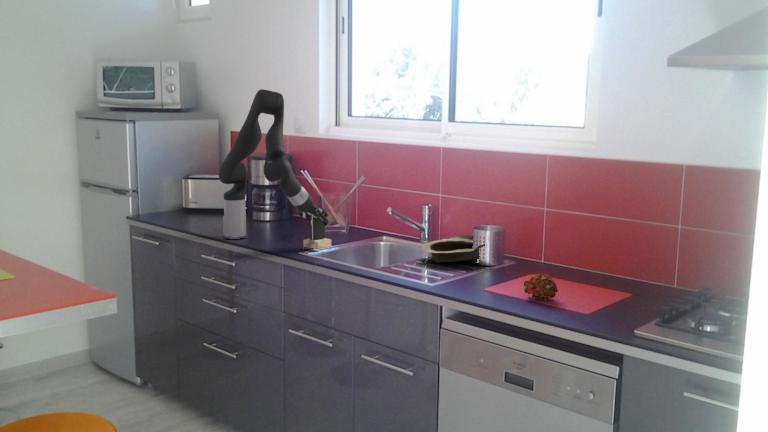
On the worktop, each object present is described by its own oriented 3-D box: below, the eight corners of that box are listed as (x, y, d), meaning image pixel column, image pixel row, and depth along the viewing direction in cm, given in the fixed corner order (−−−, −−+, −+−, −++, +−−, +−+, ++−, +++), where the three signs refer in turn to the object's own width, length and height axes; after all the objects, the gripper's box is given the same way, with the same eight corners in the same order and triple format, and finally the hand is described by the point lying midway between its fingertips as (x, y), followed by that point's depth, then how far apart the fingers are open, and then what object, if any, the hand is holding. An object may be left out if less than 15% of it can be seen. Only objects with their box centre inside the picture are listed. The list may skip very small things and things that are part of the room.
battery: (319, 237, 296) (319, 209, 295) (325, 238, 294) (325, 210, 292) (307, 239, 291) (306, 211, 289) (313, 240, 289) (313, 212, 287)
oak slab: (303, 249, 292) (303, 239, 292) (316, 246, 299) (316, 236, 298) (318, 251, 288) (318, 241, 287) (331, 248, 294) (331, 238, 293)
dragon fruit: (555, 309, 215) (524, 306, 225) (568, 289, 219) (538, 286, 229) (542, 289, 212) (512, 286, 221) (556, 269, 216) (526, 267, 225)
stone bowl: (500, 260, 274) (500, 237, 272) (464, 277, 255) (463, 251, 253) (446, 250, 289) (446, 228, 287) (408, 265, 270) (408, 242, 268)
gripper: (317, 191, 279) (337, 217, 290) (291, 189, 288) (311, 214, 298) (308, 206, 276) (328, 232, 287) (281, 203, 284) (302, 228, 295)
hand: (319, 223), depth 293 cm, fingers open, 8 cm apart
